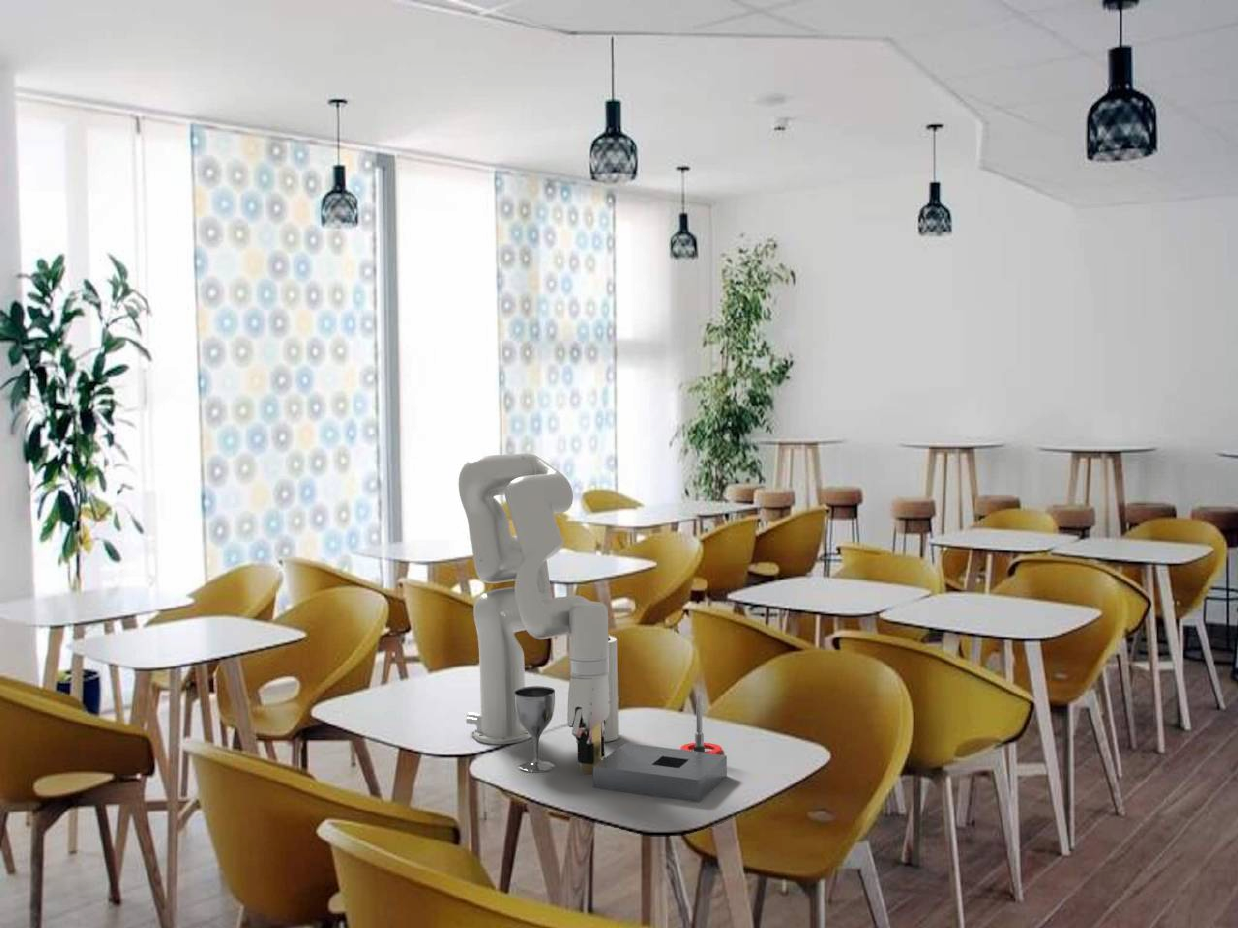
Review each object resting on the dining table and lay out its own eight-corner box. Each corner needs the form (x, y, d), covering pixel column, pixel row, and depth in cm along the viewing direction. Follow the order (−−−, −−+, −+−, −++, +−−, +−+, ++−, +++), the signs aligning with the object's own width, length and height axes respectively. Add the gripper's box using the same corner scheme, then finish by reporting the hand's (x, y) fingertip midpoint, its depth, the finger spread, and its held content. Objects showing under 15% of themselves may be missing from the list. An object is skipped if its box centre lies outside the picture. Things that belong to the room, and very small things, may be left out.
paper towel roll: (602, 744, 245) (600, 642, 244) (584, 737, 250) (582, 638, 248) (628, 737, 250) (627, 637, 248) (611, 731, 254) (609, 633, 253)
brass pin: (577, 772, 228) (576, 716, 227) (586, 765, 232) (585, 710, 231) (596, 774, 226) (595, 718, 226) (605, 768, 230) (604, 712, 229)
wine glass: (562, 761, 234) (561, 687, 233) (547, 774, 227) (545, 698, 226) (525, 758, 237) (524, 684, 236) (509, 771, 229) (507, 695, 228)
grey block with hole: (593, 787, 219) (592, 766, 219) (626, 762, 233) (625, 742, 233) (699, 802, 211) (699, 780, 211) (726, 775, 224) (726, 755, 224)
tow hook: (682, 747, 244) (678, 759, 235) (682, 685, 244) (677, 694, 235) (723, 748, 243) (720, 761, 234) (723, 686, 242) (720, 696, 233)
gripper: (590, 655, 237) (592, 744, 238) (552, 674, 222) (554, 770, 223) (624, 658, 234) (626, 749, 235) (588, 678, 218) (589, 775, 220)
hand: (591, 758), depth 229 cm, fingers closed on brass pin, 3 cm apart
